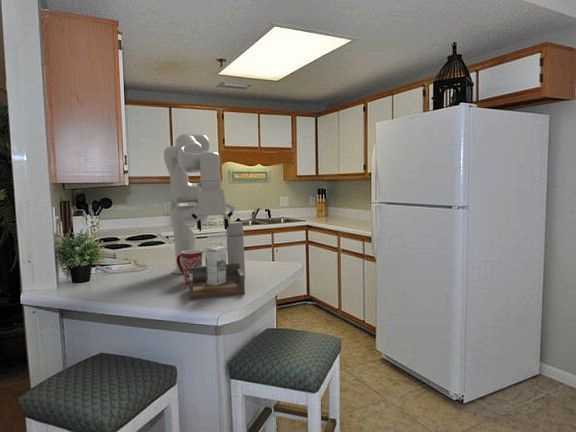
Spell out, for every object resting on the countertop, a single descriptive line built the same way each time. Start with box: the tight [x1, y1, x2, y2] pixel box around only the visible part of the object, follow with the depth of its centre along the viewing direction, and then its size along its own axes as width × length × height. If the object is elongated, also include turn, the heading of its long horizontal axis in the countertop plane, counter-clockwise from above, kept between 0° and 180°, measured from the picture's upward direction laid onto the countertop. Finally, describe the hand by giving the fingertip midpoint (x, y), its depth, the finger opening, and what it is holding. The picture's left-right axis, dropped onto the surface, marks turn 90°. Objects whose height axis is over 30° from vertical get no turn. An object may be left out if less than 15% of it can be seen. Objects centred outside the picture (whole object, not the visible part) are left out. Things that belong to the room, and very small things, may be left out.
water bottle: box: [225, 221, 246, 281], centre depth 169 cm, size 9×8×25 cm
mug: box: [177, 249, 203, 285], centre depth 169 cm, size 13×9×14 cm
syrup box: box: [204, 245, 227, 286], centre depth 151 cm, size 6×6×14 cm
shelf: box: [188, 263, 246, 300], centre depth 152 cm, size 14×20×9 cm
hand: (213, 230), depth 150 cm, fingers open, 9 cm apart
